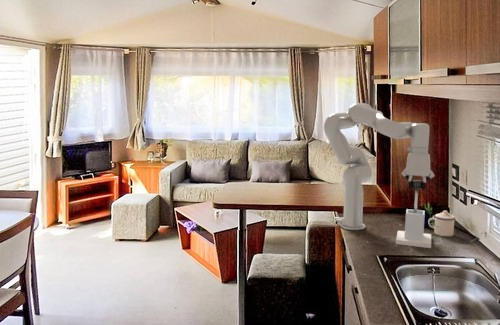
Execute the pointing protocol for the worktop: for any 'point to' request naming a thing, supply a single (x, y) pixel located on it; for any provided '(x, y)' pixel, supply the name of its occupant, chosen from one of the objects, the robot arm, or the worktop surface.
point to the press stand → (414, 230)
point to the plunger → (416, 192)
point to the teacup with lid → (443, 224)
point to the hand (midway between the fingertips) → (416, 189)
